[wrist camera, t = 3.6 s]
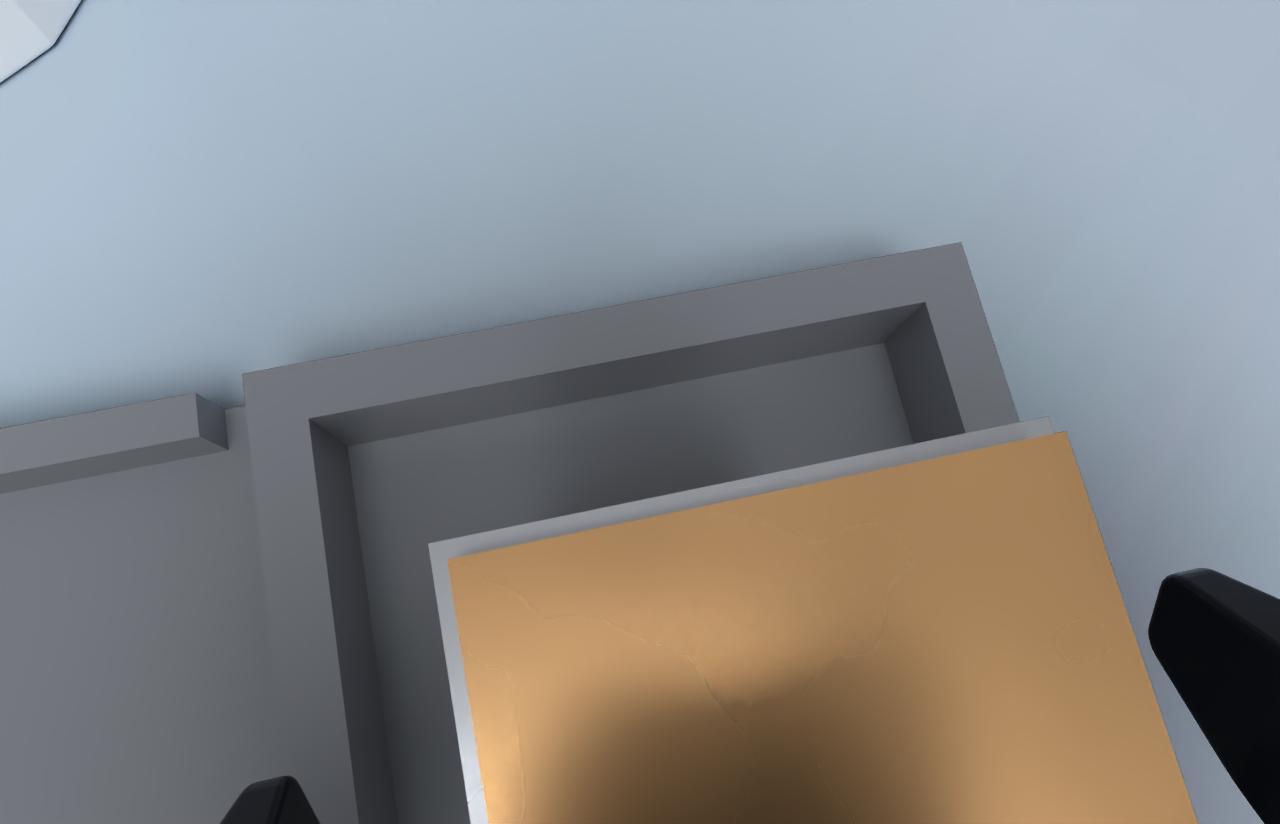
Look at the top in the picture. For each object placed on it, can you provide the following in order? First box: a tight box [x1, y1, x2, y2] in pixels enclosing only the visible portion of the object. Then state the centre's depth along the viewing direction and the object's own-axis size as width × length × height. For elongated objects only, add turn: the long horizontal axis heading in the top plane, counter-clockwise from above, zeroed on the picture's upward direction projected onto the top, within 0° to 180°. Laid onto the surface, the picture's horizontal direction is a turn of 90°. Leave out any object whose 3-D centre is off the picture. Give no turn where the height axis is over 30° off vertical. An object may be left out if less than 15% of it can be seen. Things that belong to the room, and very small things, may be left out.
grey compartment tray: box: [0, 242, 1019, 824], centre depth 14 cm, size 13×27×2 cm, turn 102°
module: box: [428, 416, 1199, 824], centre depth 11 cm, size 4×5×10 cm
